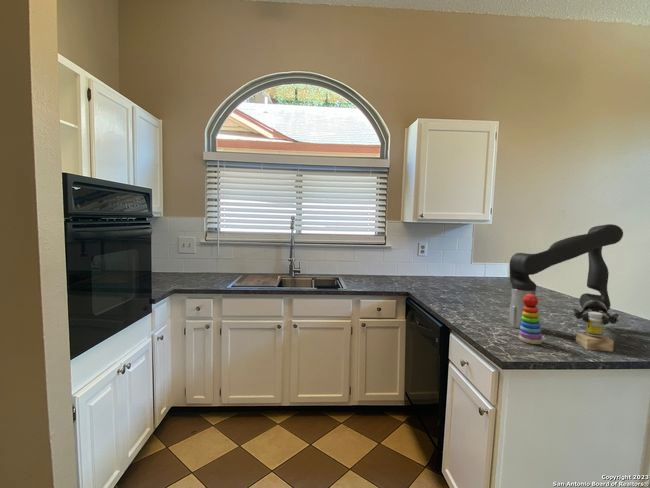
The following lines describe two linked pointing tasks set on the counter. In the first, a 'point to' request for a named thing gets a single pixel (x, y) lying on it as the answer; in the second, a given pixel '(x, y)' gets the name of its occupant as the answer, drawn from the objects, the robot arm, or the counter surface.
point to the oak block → (594, 342)
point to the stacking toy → (530, 321)
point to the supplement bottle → (595, 324)
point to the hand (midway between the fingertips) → (595, 320)
